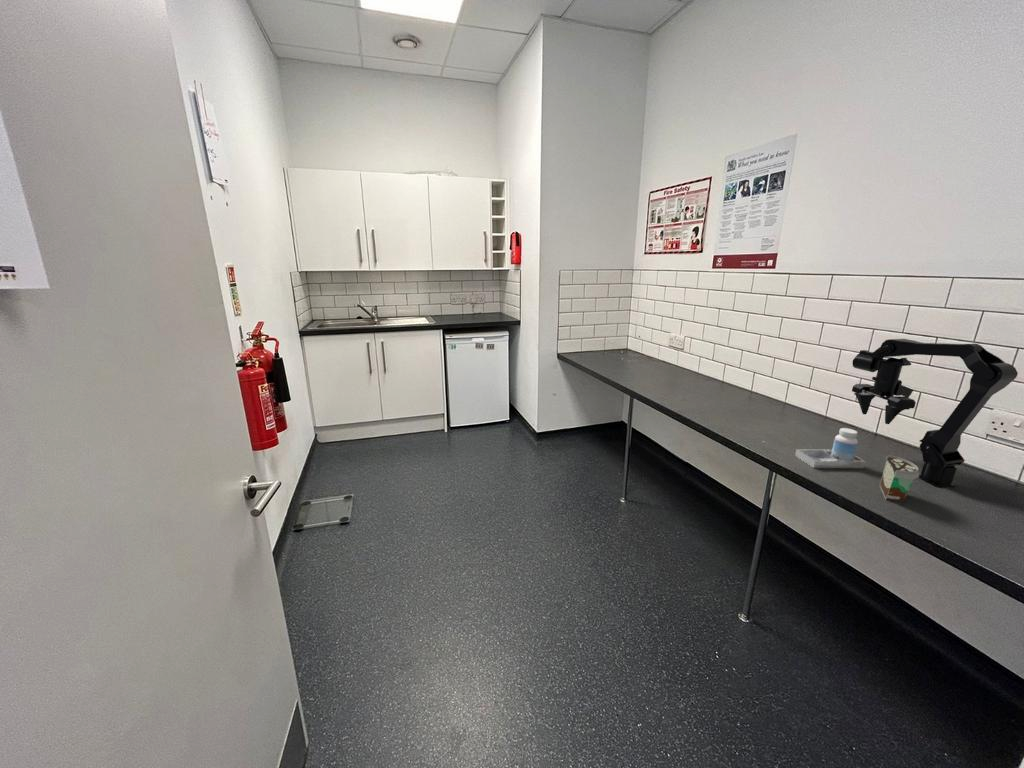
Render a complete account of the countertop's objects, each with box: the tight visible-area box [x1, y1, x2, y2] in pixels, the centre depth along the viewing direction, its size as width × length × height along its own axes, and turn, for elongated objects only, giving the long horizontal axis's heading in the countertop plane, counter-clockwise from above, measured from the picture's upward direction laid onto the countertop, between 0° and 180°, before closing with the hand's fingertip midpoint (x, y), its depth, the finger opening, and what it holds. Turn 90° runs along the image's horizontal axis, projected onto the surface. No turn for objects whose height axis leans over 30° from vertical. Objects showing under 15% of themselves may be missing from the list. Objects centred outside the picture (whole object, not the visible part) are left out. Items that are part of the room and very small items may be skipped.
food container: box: [879, 454, 920, 502], centre depth 120 cm, size 12×6×10 cm, turn 148°
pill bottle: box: [831, 427, 859, 461], centre depth 139 cm, size 6×6×11 cm
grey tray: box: [794, 448, 866, 469], centre depth 141 cm, size 9×17×2 cm, turn 91°
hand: (875, 418), depth 144 cm, fingers open, 9 cm apart
